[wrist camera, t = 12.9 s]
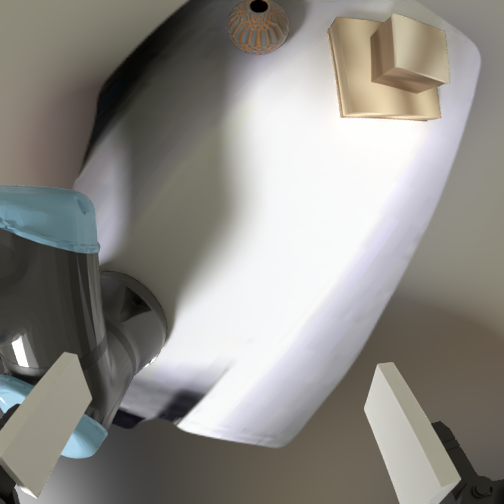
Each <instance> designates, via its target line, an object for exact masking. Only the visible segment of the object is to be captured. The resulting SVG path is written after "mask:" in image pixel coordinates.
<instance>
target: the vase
mask: <svg viewBox="0 0 504 504" xmlns="http://www.w3.org/2000/svg"><path fill="white" fill-rule="evenodd" d="M227 31H228V35H229V37H230V39H231V41H232V42H233V44H234V45H235V46H236V47H237V48H239V49H240V50H242V51H244V52H246V53H249V54H254V55H263V54H268V53H271V52H273V51H275V50H276V49H278V48H279V47H280V46H281V45H282V44H283V43H284V42H285V40H286V38H287V36H288V33H289V19H288V16H287V14H286V12H285V11H284V9H283V8H282V7H281V6H280V5H279V4H277V3H276V2H274V1H272V0H244V1H242V2H240V3H239V4H237V5H236V6H235V7H234V8H233V10H232V11H231V13H230V15H229V17H228V21H227Z"/></svg>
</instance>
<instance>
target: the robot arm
mask: <svg viewBox="0 0 504 504" xmlns="http://www.w3.org/2000/svg"><path fill="white" fill-rule="evenodd" d="M98 252H100V244H99V243H98V241H97V229H96V214H95V208H94V205H93V203H92V201H91V200H90V199H89V198H88V197H87V196H86V195H84V194H83V193H80V192H77V191H73V190H67V189H61V188H52V187H42V186H28V185H27V186H26V185H0V356H1V359H2V362H3V365H4V367H5V373H4V374H3V375H0V408H1V409H2V411H3V412H4V413H5V414H4V415H3V418H1V419H0V504H20V503H19V499H18V494H17V492H16V490H15V488H14V487H15V485H16V484H17V485H18V486H19V487H20V488H21V489H22V490H23V491H24V492H25V493H27V494H29V495H31V496H33V497H35V498H38V497H39V495H40V493H41V491H42V489H43V487H44V485H45V483H46V481H47V479H48V477H49V475H50V473H51V472H52V470H53V468H54V466H55V464H56V462H57V460H58V458H59V456H60V455H64V456H67V457H72V458H84V457H89V456H92V455H93V454H94V453H95V452H96V451H97V449H98V448H99V446H100V445H101V443H102V442H103V440H104V439H105V438H106V436H107V434H108V433H107V431H108V429H109V427H110V425H111V423H112V420H113V418H114V416H115V414H116V412H117V410H118V408H119V406H120V403H121V401H122V399H123V397H124V395H125V393H126V391H127V389H128V387H129V385H130V383H131V381H132V379H133V377H134V375H136V374H137V373H138V372H139V371H140V370H141V369H143V368H145V367H147V366H148V365H150V364H151V363H152V362H153V361H154V360H155V359H156V358H157V357H158V355H159V353H160V352H161V349H162V347H163V345H164V343H165V340H166V335H167V324H166V319H165V315H164V312H163V310H162V308H161V306H160V304H159V302H158V301H157V299H156V298H155V297H154V295H153V294H152V293H151V292H150V291H149V290H148V289H147V288H146V287H145V286H144V285H143V284H141V283H140V282H139V281H137V280H135V279H134V278H132V277H130V276H127V275H125V274H122V273H118V272H110V271H109V272H100V271H99V257H98ZM364 411H365V413H366V415H367V418H368V420H369V423H370V425H371V428H372V430H373V433H374V436H375V438H376V440H377V443H378V446H379V448H380V451H381V454H382V456H383V459H384V461H385V464H386V467H387V469H388V472H389V474H390V477H391V480H392V483H393V486H394V488H395V491H396V494H397V497H398V499H399V502H400V504H504V479H503V480H497V481H491V480H490V479H489V478H487V477H485V476H478V475H477V473H476V472H475V470H474V469H473V467H472V465H471V463H470V462H469V460H468V458H467V457H466V455H465V453H464V451H463V450H462V449H461V447H460V445H459V443H458V441H457V440H455V437H454V435H453V434H452V432H451V430H450V429H449V428H448V427H447V426H445V425H444V424H443V423H442V422H441V421H439V422H435V423H431V424H430V422H429V420H428V419H427V417H426V415H425V413H424V412H423V410H422V408H421V407H420V405H419V404H418V402H417V400H416V398H415V397H414V395H413V394H412V392H411V390H410V389H409V387H408V386H407V384H406V382H405V381H404V379H403V377H402V376H401V374H400V373H399V371H398V369H397V368H396V367H395V365H394V363H393V362H391V363H382V364H377V367H376V370H375V374H374V378H373V381H372V384H371V388H370V391H369V395H368V398H367V401H366V404H365V407H364Z"/></svg>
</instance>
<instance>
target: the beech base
mask: <svg viewBox="0 0 504 504" xmlns="http://www.w3.org/2000/svg"><path fill="white" fill-rule="evenodd" d="M383 24H384V23H383V22H376V21H368V20H360V19H351V18H339V17H336V18H335V20H334V22H333V23H332V25H331V27H330V28H329V29H328V32H327V33H328V38H329V44H330V49H331V55H332V61H333V68H334V74H335V81H336V88H337V95H338V103H339V111H340V118H378V119H398V120H413V121H427V120H432V119H438V118H441V112H440V104H439V97H438V91H437V87H434V88H432V89H429V90H426V91H423V92H421V93H418V94H416V93H412V92H409V91H405V90H401V89H398V88H394V87H390V86H386V85H382V84H377V83H373V82H371V46H370V37H371V36H372V35H373V34H374V33H375V32H376V31H377V30H378V29H379V28H380V27H381V26H382V25H383Z"/></svg>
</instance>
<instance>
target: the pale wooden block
mask: <svg viewBox="0 0 504 504" xmlns="http://www.w3.org/2000/svg"><path fill="white" fill-rule="evenodd" d="M370 46H371V82H373V83H377V84H382V85H386V86H390V87H394V88H398V89H401V90H405V91H409V92H412V93H416V94H418V93H421V92H423V91H426V90H429V89H432V88H434V87H437V86H440V85H443V84H448V83H450V74H449V62H448V52H447V44H446V36H445V32H444V31H442V30H439V29H437V28H434V27H432V26H429V25H427V24H424V23H422V22H419V21H416V20H413V19H410V18H407V17H405V16H401V15H398V14H395V13H393V14H392V15H391V17H390V18H389V19H388V20H387V21H386V22H385V23H384V24H383V25H382V26H381V27H380V28H379V29H378V30H377V31H376V32H375V33H374V34H373V35H372V36H371V37H370Z"/></svg>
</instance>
